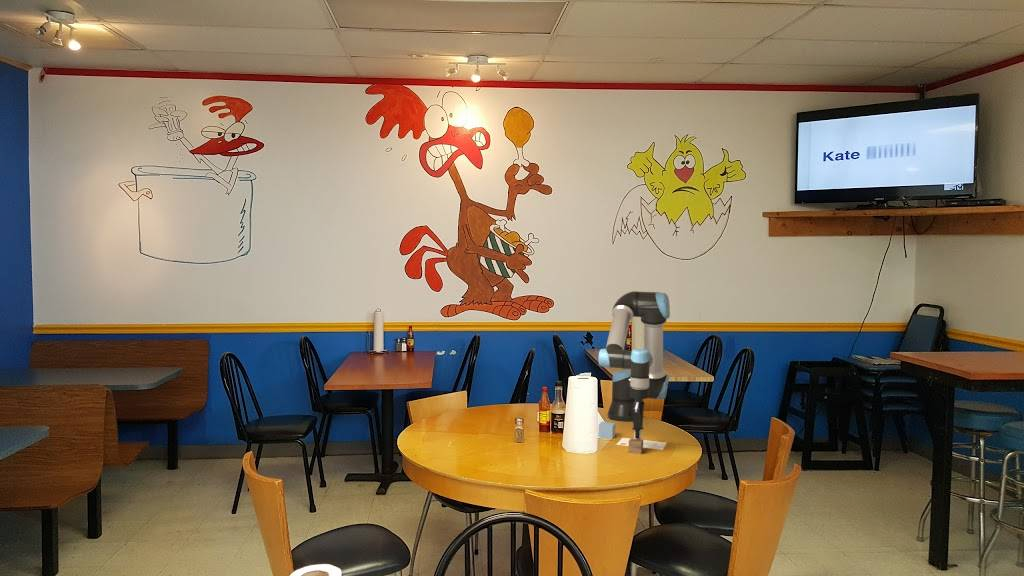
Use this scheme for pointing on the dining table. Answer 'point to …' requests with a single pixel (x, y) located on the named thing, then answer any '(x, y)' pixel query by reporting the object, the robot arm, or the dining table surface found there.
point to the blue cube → (607, 430)
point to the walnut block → (635, 446)
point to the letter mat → (644, 444)
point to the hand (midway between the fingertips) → (637, 445)
